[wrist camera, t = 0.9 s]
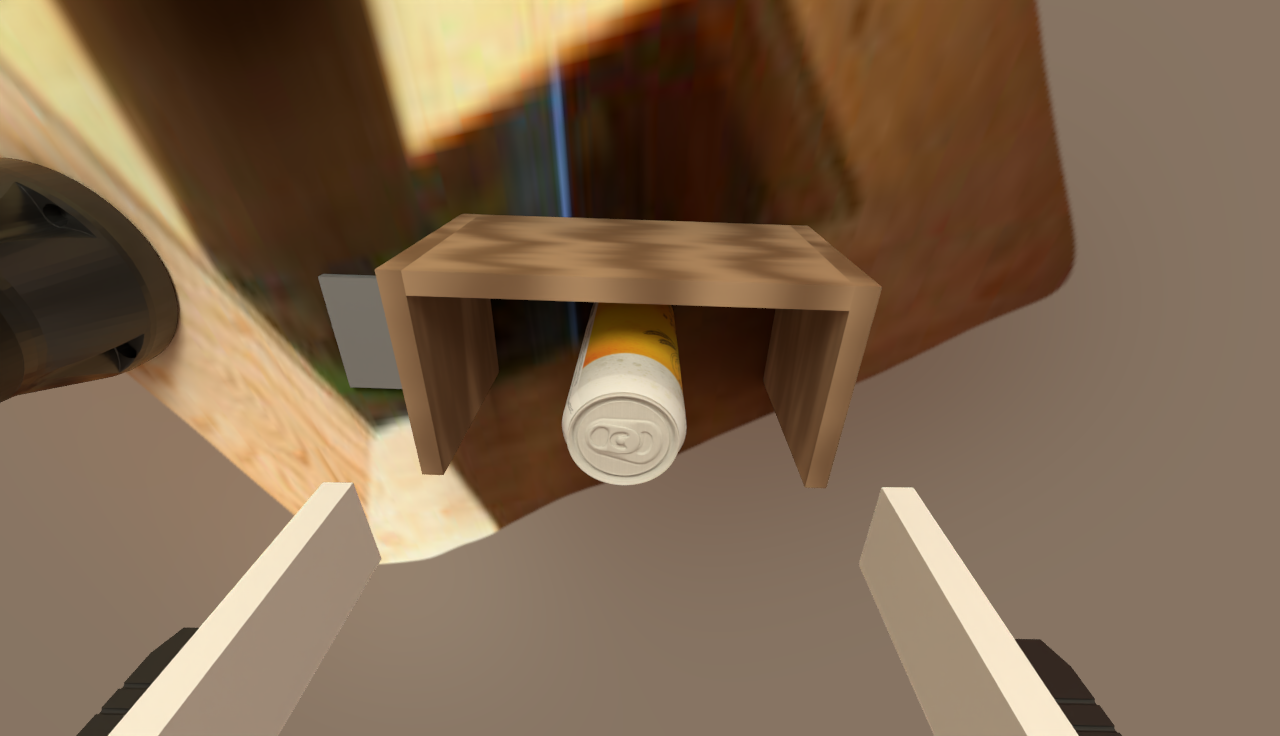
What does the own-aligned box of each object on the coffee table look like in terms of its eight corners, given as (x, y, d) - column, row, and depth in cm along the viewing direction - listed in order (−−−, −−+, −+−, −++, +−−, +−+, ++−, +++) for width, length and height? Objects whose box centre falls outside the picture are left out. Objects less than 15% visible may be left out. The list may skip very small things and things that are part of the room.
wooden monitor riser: (483, 371, 39) (422, 474, 28) (461, 213, 33) (374, 269, 22) (778, 381, 39) (826, 488, 28) (807, 225, 33) (881, 287, 22)
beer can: (664, 360, 38) (672, 500, 25) (585, 346, 38) (551, 481, 24) (682, 285, 35) (702, 399, 22) (597, 269, 35) (566, 376, 22)
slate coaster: (354, 383, 40) (350, 387, 39) (322, 273, 35) (317, 276, 35) (467, 387, 40) (464, 391, 39) (449, 278, 35) (446, 281, 35)
